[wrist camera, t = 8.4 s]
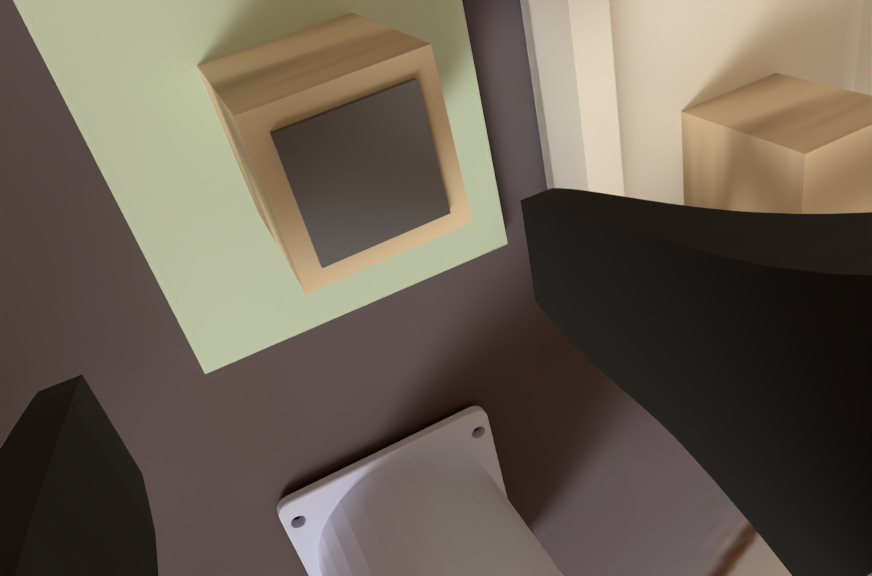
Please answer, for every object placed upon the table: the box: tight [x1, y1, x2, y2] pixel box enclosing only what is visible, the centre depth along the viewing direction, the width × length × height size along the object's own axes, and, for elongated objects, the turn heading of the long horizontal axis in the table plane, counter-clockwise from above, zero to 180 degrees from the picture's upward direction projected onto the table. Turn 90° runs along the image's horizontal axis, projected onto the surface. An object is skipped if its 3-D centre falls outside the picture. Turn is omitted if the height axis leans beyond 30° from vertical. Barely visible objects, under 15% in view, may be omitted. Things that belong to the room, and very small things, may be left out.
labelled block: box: [197, 12, 473, 294], centre depth 16 cm, size 4×4×5 cm
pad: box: [13, 0, 508, 374], centre depth 19 cm, size 12×10×1 cm
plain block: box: [681, 73, 872, 214], centre depth 23 cm, size 4×4×5 cm
